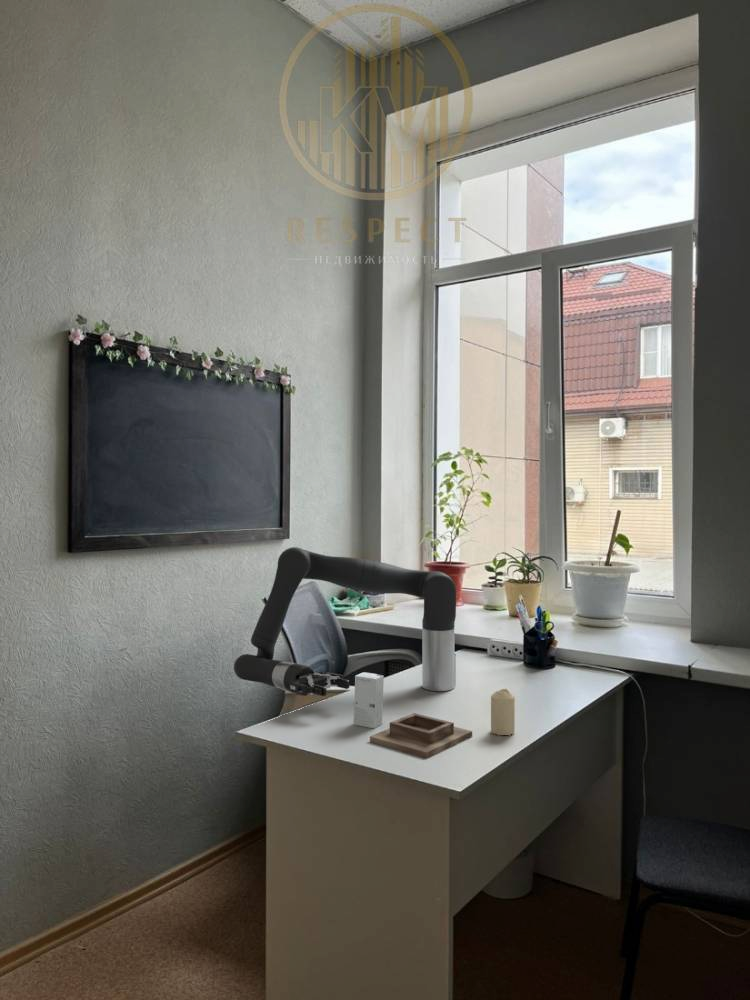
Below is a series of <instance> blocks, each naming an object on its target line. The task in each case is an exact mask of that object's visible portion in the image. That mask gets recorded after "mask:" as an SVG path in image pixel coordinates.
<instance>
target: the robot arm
mask: <svg viewBox="0 0 750 1000" xmlns="http://www.w3.org/2000/svg"><path fill="white" fill-rule="evenodd" d="M303 579H304V580H315V581H323V582H326V583H331V584H334V585H336V586H340V587H343V588H346V589H350V590H352V591H358V592H365V593H369V594H385V595H387V594H390V595H391V594H402V595H403V594H404V595H409V596H413V597H417V598H420V599H423V616H422V617H423V618H422V620H421V621H422V622H421V623H422V625H421V627H422V630H421V631H422V632H421V633H422V640H421V641H422V644H421V645H422V647H421V648H422V649H421V650H422V659H421V660H422V664H421V665H422V668H421V671H422V672H421V673H422V677H421V679H422V683H421V684H422V685H421V686H422V688H423V689H425V690H427V691H432V692H446V691H451V690H453V689H455V686H456V685H457V682H456V679H457V677H456V676H457V673H456V671H457V664H456V663H457V661H456V660H457V659H456V658H457V655H456V653H455V624H456V622H455V621H456V618H457V617H456V616H457V587H456V583H455V581H454V580H453V579H452V577H450V576H449V575H448V574H446V573H445V572H442V571H439V570H437V571H435V570H421V569H420V570H418V569H409V568H404V567H401V566H396V565H394V564H389V563H387V562H380V561H376V560H371V559H366V558H357V557H347V556H331V555H324V554H320V553H317V552H314V551H313V552H312V551H310V550H306V549H303V548H300V547H296V546H295V547H290V548H289V547H288V548H286V549H285V550H284V551H282V552H281V554H280V555H279V557H278V558H277V568H276V572H275V576H274V581H273V585H272V586H271V591H270V593H269V596H268V598H267V600H266V603H265V605H264V607H263V609H262V611H261V613H260V615H259V617H258V620H257V623H256V625H255V628H254V630H253V632H252V636H251V639H250V643H251V645H252V646H254V647H255V648H257V652H256V655H255V654H251V653H250V654H247V653H245V654H241V655H239V656H238V657H237V658H236V659H235V661H234V662H233V663H234V664H233V671H234V674H235V675H236V676H237V678H238V679H240V680H244V681H250V682H254V683H255V682H256V683H261V684H264V685H268V686H270V687H273V688H278V689H280V690H282V691H284V692H285V691H286V692H289V693H294V694H297V695H301V696H302V697H304V696H307V695H308V694H309V695H311V696H312V695H317V696H321V697H325V696H327V689H331V687H332V688H334V687H335V688H336V687H337V688H340V689H344V690H349V689H350V684H351V682H350V680H349V679H346V678H343V674H340V673H339V674H338V673H335V672H328V671H325V672H324V673H322V674H321V673H318V672H316V673H315V672H314V670H313V669H312V667H310V666H308V665H304V664H300V663H296V662H291V661H284V660H283V661H282V660H277V659H274V655H275V647H276V643H277V641H278V638H279V636H280V634H281V632H282V628H283V625H284V622H285V620H286V616H287V614H288V609H289V607H290V605H291V602H292V599H293V598H294V595H295V593H296V591H297V589H298V588H299V586H300V584H301V583H302V581H303ZM326 683H327V685H326Z"/></svg>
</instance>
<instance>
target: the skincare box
mask: <svg viewBox="0 0 750 1000" xmlns="http://www.w3.org/2000/svg"><path fill="white" fill-rule="evenodd" d="M384 678H385V676H384V675H382V674H377V673H372V672H365V671H364V672H361V673H359V674H356V675H355V676H354V701H353V702H354V703H353V707H354V708H353V724H354V725H355V726H359V727H360V726H361V727H365V728H370V729H376V728H378V727H379V725H380V726H381V725H382V724H383V710H384V709H383V708H384V707H383V706H384Z"/></svg>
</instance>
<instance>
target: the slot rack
mask: <svg viewBox="0 0 750 1000" xmlns="http://www.w3.org/2000/svg"><path fill="white" fill-rule="evenodd" d="M471 736H472V737H473V730H470V729H469V730H468V729H466V728H462V727H457V726H455V722H451V721H447V720H444V719H443V720H442V719H439V718H436V717H432V716H427V715H424V714H423V715H422V714H419V713H416V712H414V713H411V714H407V715H406V716H403V717H400V718H398V719H396V720H393V721H391V722H389V728H387V729H384V730H382V731H380V732H377V733H374V734H372V735H370V736H369V742H371V743H373V742H374V743H373V744H377V745H380V744H381V746H384V747H387V748H390V747H391V749H393V750H394V749H395V750H397V751H401V752H405V753H408V754H411V755H414V756H415V755H416V756H418V757H422V758H425V759H428V758H430V757H432V756H434V755H436V754H438V753H440V752H442V751H444V750H447V749H449V748H451V747H453V746H455V745H457V744H459V743H461V742H464V741H466V740H467V739H470V738H471ZM469 737H470V738H469Z"/></svg>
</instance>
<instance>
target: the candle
mask: <svg viewBox="0 0 750 1000" xmlns="http://www.w3.org/2000/svg"><path fill="white" fill-rule="evenodd" d="M515 703H516V702H515V694H513V693H511V692H510V691H509V690H508V689H507V688H502V689H500V690H496V691H494V692H493V693H492V694H491V696H490V733H492V734H493V733H494V734H493V735H495V734H497V736H500V735H509V736H512V735H511V734H513V733H514V734H515V727H516V725H515V723H516V722H515V719H516V718H515V715H516V714H515V711H516V709H515V708H516V704H515ZM514 734H513V735H514Z"/></svg>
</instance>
